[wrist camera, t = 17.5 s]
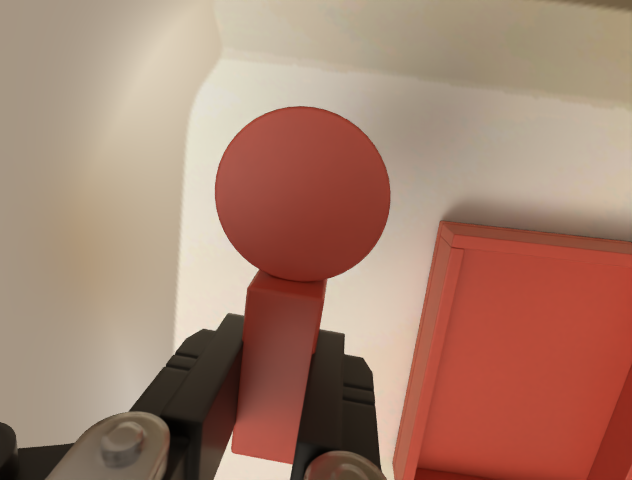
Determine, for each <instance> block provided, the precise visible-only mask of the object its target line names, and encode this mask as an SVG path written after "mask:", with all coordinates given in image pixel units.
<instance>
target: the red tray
mask: <svg viewBox="0 0 632 480" xmlns="http://www.w3.org/2000/svg"><path fill="white" fill-rule="evenodd" d="M392 464H393V471H394V479H395V480H632V242H627V241H618V240H609V239H600V238H591V237H582V236H573V235H565V234H556V233H547V232H538V231H529V230H520V229H511V228H502V227H493V226H484V225H475V224H466V223H457V222H448V221H440V223H439V228H438V234H437V239H436V244H435V249H434V254H433V259H432V264H431V269H430V274H429V279H428V285H427V290H426V295H425V300H424V305H423V310H422V315H421V320H420V325H419V331H418V336H417V341H416V346H415V351H414V356H413V361H412V366H411V371H410V376H409V382H408V387H407V392H406V397H405V402H404V407H403V412H402V417H401V422H400V427H399V433H398V438H397V443H396V448H395V453H394V458H393V463H392Z"/></svg>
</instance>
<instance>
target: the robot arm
mask: <svg viewBox="0 0 632 480" xmlns="http://www.w3.org/2000/svg"><path fill="white" fill-rule="evenodd" d="M243 325H244V316H243V315H237V314H232V313H228V314H227V315H226V317H225V318H224V320H223V321H222V323H221V324H220V326H219V327H218V329H217V330H216V331H213V330H207V329H202V330H200V331H199V332H197V333H195V334H193V335H192V336H190V337H188V338H186V340H185V341H184V342H183V343H182V345H181V346H180V347H179V348H178V350H177V351H176V353H175V355H173V356H172V357H171V358H170V360H169V361H168V363H167V364H166V367H164V368H163V369H162V370H161V371H160V372H159V374H158V375H157V376H156V378H155V379H154V380H153V381H152V383H151V384H150V385H149V386H148V388H147V389H146V390H145V391H144V393H143V394H142V395H141V396H140V398H139V399H138V400H137V401H136V403H135V404H134V405H133V407H132V408H131V409H130V410H129V412H125V413H120V414H117V415H113V416H110V417H108V418H105V419H103V420H101V421H99V422H98V423H96V424H94V425H93V426H91V427H90V428H89V429H88V430H86V431H85V432H84V433H83V434H82V435H81V436H80V437H79V439H78V440H77V441H76V442H75V443H71V444H64V445H54V446H43V447H30V448H19V449H17V441H16V435H15V432H14V431H13V429H12V428H11V427H10V426H8V425H7V424H4V423H1V422H0V480H213V479H214V477H215V474H216V472H217V469H218V467H219V464H220V462H221V459H222V457H223V454H224V452H225V449H226V446H227V444H228V441H229V439H230V436H231V434H232V431H233V429H234V426H235V423H236V413H237V403H238V393H239V383H240V373H241V363H242V353H243V343H244V342H243V341H242V335H243ZM344 340H345V334H343V333H338V332H332V331H326V330H321V329H319V334H318V340H317V346H316V352H315V353H314V354H312V357H311V362H310V368H309V374H308V379H307V385H306V391H305V396H304V402H303V408H302V413H301V419H300V424H299V430H298V436H297V441H296V447H295V454H294V460H293V466H292V472H291V478H290V480H387V479H386V477H385V476H384V474H383V473H382V470H381V465H380V455H379V443H378V431H377V420H376V408H375V396H374V385H373V373H372V371H371V370H370V368H369V367H368V365H367V363H366V362H365V360H364V359H363V358H361V357H356V356H350V355H345V354H344Z"/></svg>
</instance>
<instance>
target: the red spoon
mask: <svg viewBox="0 0 632 480" xmlns="http://www.w3.org/2000/svg"><path fill="white" fill-rule="evenodd" d="M215 201H216V209H217V213H218V216H219V220H220V222H221V225H222V227H223V230H224V232H225V234H226V235H227V237H228V239H229V241H230V242H231V243H232V245H233V246H234V247H235V249H236V250H237V251H238V252H239V253H240V254H241V255H242V256H243V257H244V258H245V259H246V260H247V261H248V262H250V263H251V264H252V265H254V266H255V267H257V268H258V269H259V271H258V272H257V274H256V275H255V277H254V279H253V280H252V282H251V283H250V285H249V286H248V288H247V295H246V305H245V315H244V325H243V335H242V341H243V342H244V343H243V353H242V363H241V373H240V383H239V393H238V403H237V413H236V423H235V426H234V429H233V436H232V446H231V450H232V452H233V453H235V454H240V455H246V456H251V457H256V458H261V459H267V460H272V461H277V462H283V463H288V464H293V460H294V454H295V447H296V441H297V436H298V430H299V424H300V419H301V413H302V408H303V402H304V396H305V391H306V385H307V379H308V374H309V368H310V362H311V357H312V354H314V353H315V352H316V346H317V340H318V334H319V328H320V322H321V316H322V311H323V305H324V298H325V291H326V284H327V279H328V278H331V277H334V276H337V275H339V274H342V273H344V272H345V271H347V270H349V269H351V268H352V267H354V266H355V265H356V264H358V263H359V262H360V261H362V260H363V259H364V258H365V257H366V256H367V255H368V254H369V253H370V251H371V250H372V249H373V247H374V246H375V245H376V243H377V242H378V240H379V238H380V237H381V235H382V232H383V230H384V228H385V225H386V222H387V218H388V215H389V209H390V184H389V178H388V174H387V170H386V167H385V164H384V162H383V160H382V157H381V155H380V154H379V152H378V150H377V149H376V147H375V145H374V144H373V143H372V142H371V140H370V139H369V138H368V136H367V135H366V134H365V133H363V132H362V131H361V130H360V129H359V128H358V127H357V126H356V125H354V124H353V123H351V122H350V121H349V120H347V119H345V118H343V117H341V116H340V115H338V114H335V113H333V112H330V111H327V110H324V109H319V108H315V107H304V106H297V107H287V108H282V109H277V110H274V111H271V112H268V113H266V114H264V115H262V116H260V117H258V118H256V119H254V120H253V121H252V122H250V123H249V124H247V125H246V126H245V127H244V128H243V129H242V130H241V131H240V132H239V133H238V134H237V135H236V136H235V137H234V138H233V140H232V141H231V142H230V144H229V145H228V147H227V149H226V150H225V152H224V154H223V156H222V159H221V161H220V164H219V167H218V171H217V175H216V182H215Z"/></svg>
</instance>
